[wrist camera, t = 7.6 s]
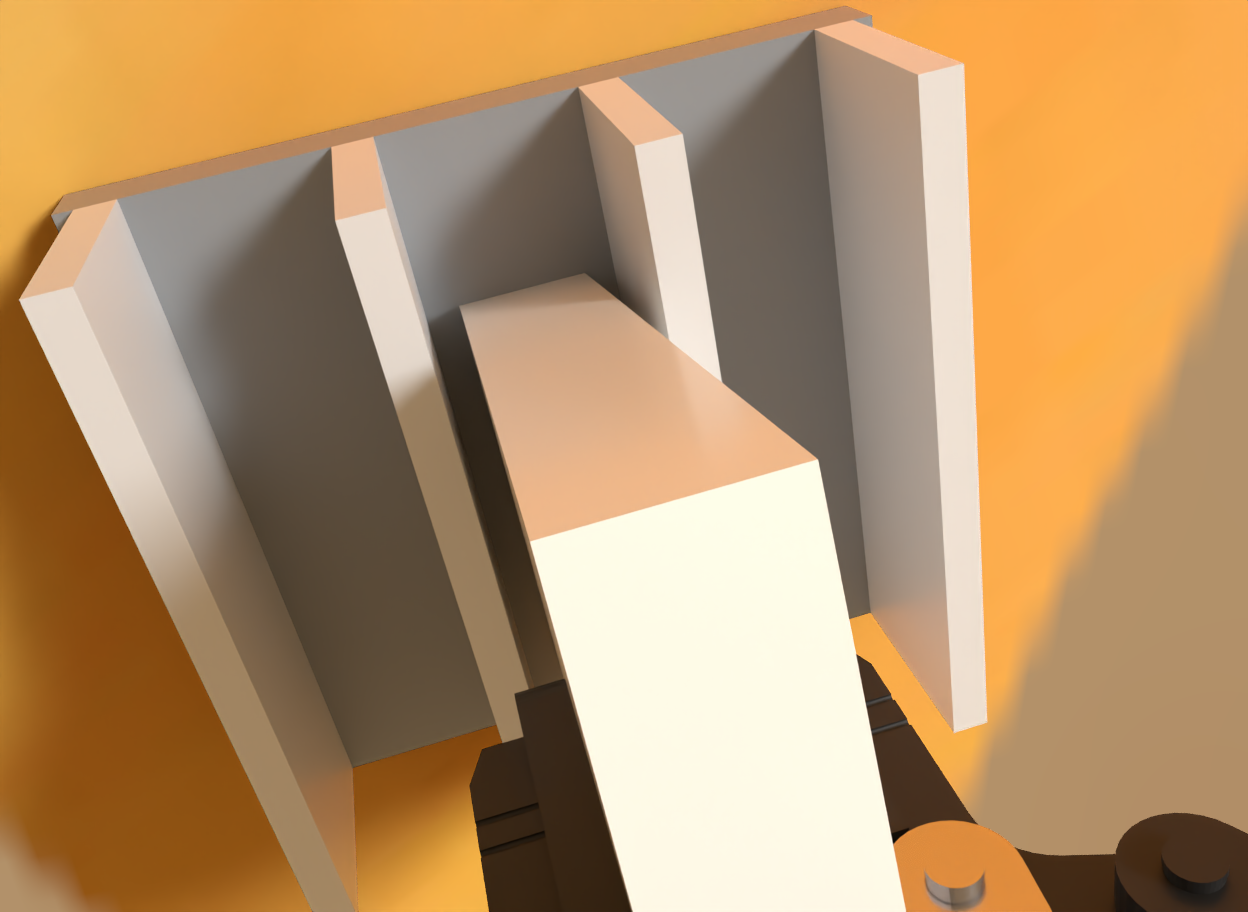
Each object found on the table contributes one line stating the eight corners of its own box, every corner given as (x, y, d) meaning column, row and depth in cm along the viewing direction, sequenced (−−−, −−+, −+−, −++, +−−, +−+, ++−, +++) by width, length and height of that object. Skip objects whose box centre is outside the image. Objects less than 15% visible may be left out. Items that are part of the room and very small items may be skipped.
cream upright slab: (459, 305, 18) (530, 541, 8) (584, 273, 18) (818, 458, 8) (597, 800, 21) (788, 1471, 10) (705, 766, 21) (999, 1392, 11)
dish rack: (64, 195, 17) (-9, 306, 13) (845, 6, 18) (986, 57, 15) (304, 745, 23) (303, 936, 19) (892, 571, 24) (1003, 716, 20)
